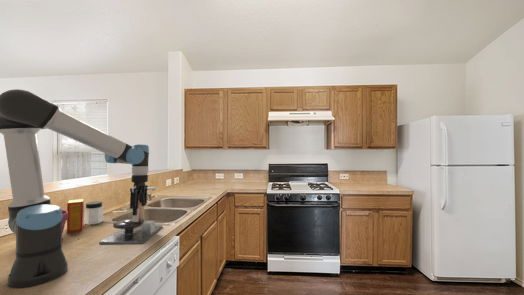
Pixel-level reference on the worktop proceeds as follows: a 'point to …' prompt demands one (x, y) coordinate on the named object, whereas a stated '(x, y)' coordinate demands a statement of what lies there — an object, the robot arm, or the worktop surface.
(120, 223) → the handwheel
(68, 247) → the worktop surface
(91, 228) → the worktop surface
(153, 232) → the dark grey flat piece
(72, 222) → the baking soda box
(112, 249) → the worktop surface
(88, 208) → the jar
